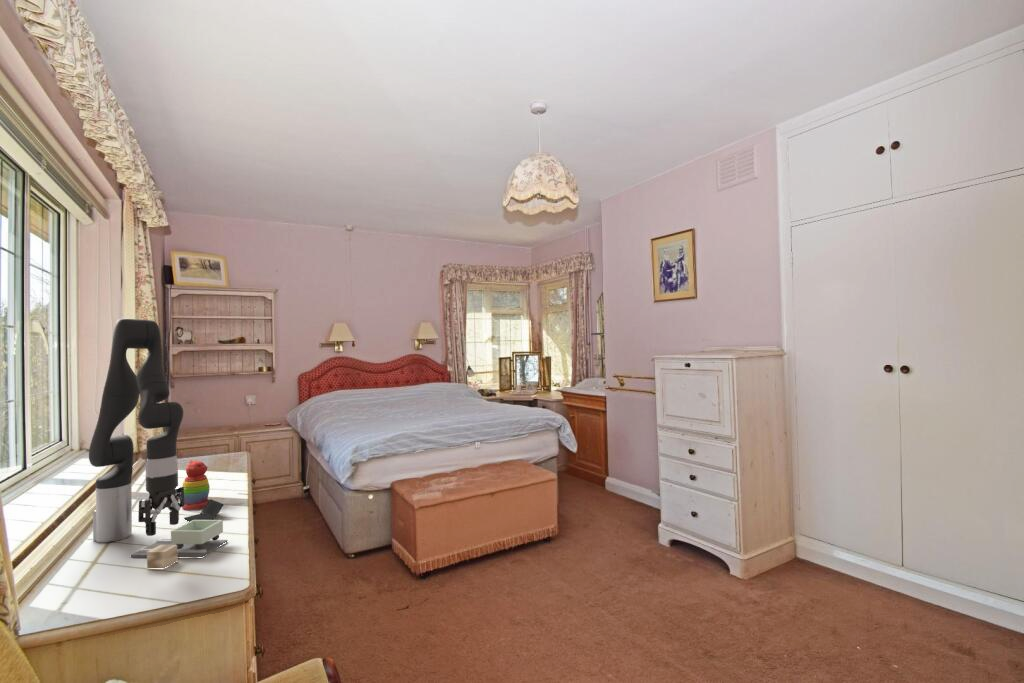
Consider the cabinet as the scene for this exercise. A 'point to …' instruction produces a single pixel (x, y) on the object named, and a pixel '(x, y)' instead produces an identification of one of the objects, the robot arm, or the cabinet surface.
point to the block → (162, 556)
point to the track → (186, 551)
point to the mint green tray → (196, 533)
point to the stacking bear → (195, 486)
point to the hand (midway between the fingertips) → (162, 529)
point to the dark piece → (207, 511)
